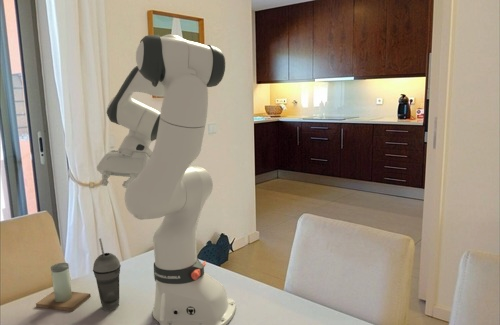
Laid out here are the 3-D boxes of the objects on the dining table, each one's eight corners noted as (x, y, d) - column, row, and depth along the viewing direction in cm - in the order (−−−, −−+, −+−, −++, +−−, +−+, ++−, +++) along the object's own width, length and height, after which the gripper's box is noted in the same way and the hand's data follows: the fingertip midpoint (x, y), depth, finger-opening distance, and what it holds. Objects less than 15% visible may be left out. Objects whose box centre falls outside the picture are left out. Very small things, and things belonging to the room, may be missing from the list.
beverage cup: (115, 314, 109) (108, 244, 105) (91, 312, 110) (84, 243, 107) (129, 300, 116) (122, 234, 112) (106, 298, 117) (99, 233, 114)
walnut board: (90, 296, 119) (90, 293, 119) (72, 311, 111) (72, 307, 111) (56, 292, 122) (55, 289, 122) (36, 306, 114) (35, 303, 114)
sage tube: (75, 295, 118) (72, 263, 116) (65, 303, 114) (60, 270, 112) (62, 293, 119) (58, 262, 117) (51, 301, 115) (47, 268, 113)
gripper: (104, 144, 139) (84, 178, 132) (151, 147, 130) (132, 183, 123) (114, 155, 144) (96, 188, 137) (160, 158, 135) (143, 193, 128)
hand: (113, 186), depth 130 cm, fingers open, 8 cm apart
